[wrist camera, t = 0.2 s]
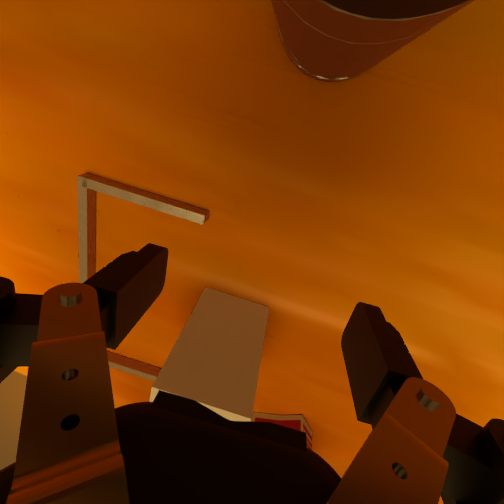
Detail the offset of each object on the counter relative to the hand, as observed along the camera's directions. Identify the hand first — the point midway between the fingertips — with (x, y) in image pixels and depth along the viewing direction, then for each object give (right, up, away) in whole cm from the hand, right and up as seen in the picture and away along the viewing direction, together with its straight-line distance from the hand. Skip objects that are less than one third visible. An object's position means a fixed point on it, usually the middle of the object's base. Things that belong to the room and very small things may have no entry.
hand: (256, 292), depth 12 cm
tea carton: (-3, -7, +24) cm, 25 cm away
